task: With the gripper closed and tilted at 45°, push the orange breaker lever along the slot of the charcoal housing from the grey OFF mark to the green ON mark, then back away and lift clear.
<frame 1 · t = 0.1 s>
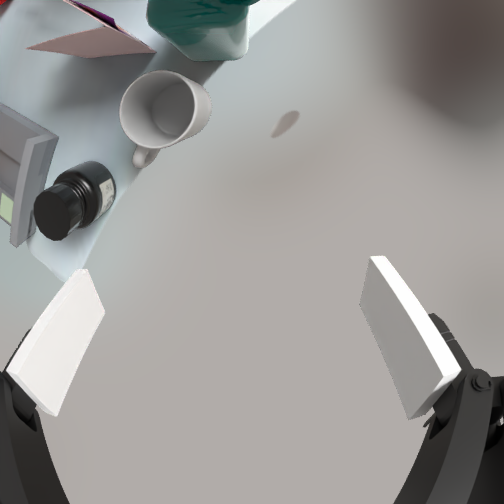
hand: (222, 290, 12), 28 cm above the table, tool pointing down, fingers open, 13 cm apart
mug: (175, 119, 33), on the table
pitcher: (221, 34, 27), on the table
breaker housing: (7, 162, 32), on the table
ink bottle: (94, 187, 37), on the table
greeting card: (118, 49, 27), on the table
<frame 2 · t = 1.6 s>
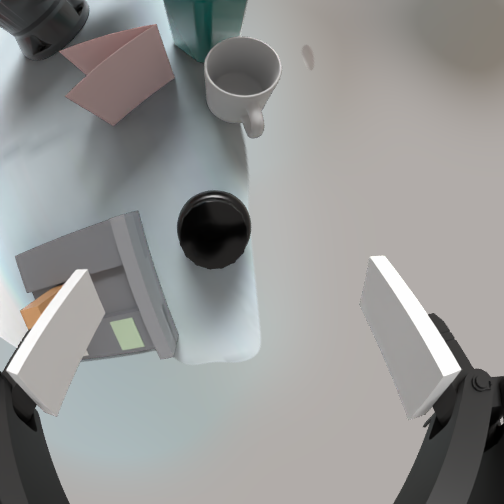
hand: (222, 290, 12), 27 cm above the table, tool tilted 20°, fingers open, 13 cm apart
mug: (239, 107, 35), on the table
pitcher: (209, 37, 31), on the table
breaker housing: (91, 293, 37), on the table
ink bottle: (214, 222, 38), on the table
greeting card: (137, 100, 32), on the table
breaker lever: (54, 314, 30), point 7 cm above the table, slide at 0.0 cm
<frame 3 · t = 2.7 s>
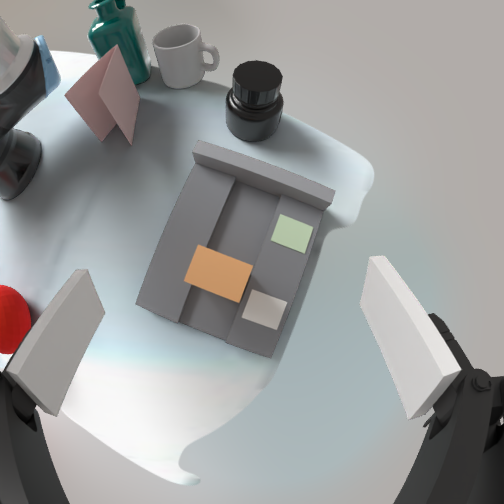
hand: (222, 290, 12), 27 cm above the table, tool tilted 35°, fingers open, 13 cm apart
mug: (191, 76, 44), on the table
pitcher: (132, 73, 44), on the table
breaker housing: (233, 252, 40), on the table
ink bottle: (252, 122, 43), on the table
tomato: (23, 318, 36), on the table
greeting card: (131, 124, 42), on the table
breaker lever: (220, 276, 32), point 7 cm above the table, slide at 0.0 cm
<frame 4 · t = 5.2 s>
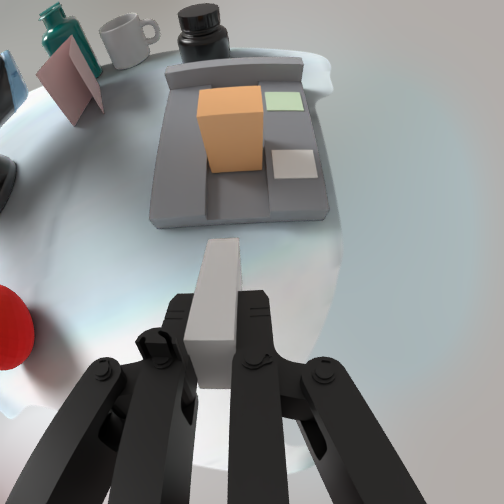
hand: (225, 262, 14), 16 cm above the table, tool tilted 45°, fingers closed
mug: (139, 57, 43), on the table
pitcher: (85, 77, 43), on the table
breaker housing: (236, 142, 35), on the table
ink bottle: (206, 61, 41), on the table
tomato: (26, 331, 28), on the table
greeting card: (98, 103, 39), on the table
breaker lever: (233, 132, 27), point 7 cm above the table, slide at 0.0 cm
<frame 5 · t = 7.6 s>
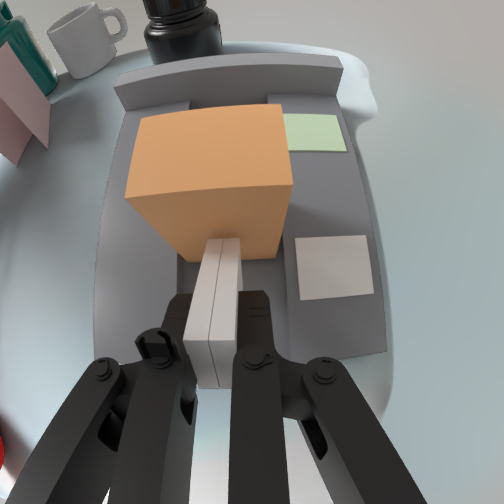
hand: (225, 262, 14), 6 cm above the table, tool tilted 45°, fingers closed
mug: (103, 60, 30), on the table
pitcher: (40, 91, 30), on the table
breaker housing: (231, 206, 22), on the table
ink bottle: (189, 61, 28), on the table
greeting card: (44, 131, 26), on the table
breaker lever: (221, 201, 14), point 7 cm above the table, slide at 1.1 cm, touching gripper
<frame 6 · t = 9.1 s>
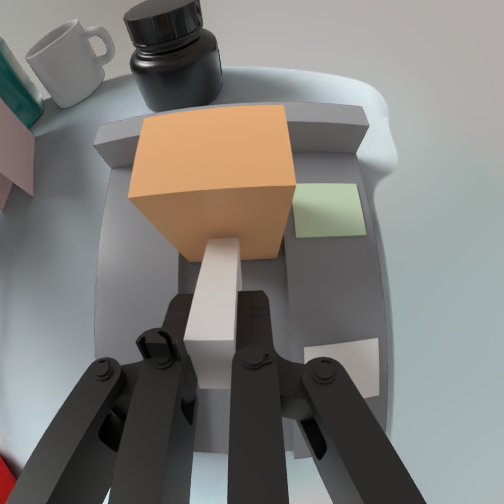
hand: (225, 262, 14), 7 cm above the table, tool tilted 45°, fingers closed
mug: (90, 85, 28), on the table
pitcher: (25, 118, 28), on the table
breaker housing: (235, 293, 20), on the table
ink bottle: (184, 92, 26), on the table
tomato: (8, 471, 13), on the table
greeting card: (29, 171, 24), on the table
breaker lever: (223, 201, 14), point 7 cm above the table, slide at 8.0 cm, touching gripper
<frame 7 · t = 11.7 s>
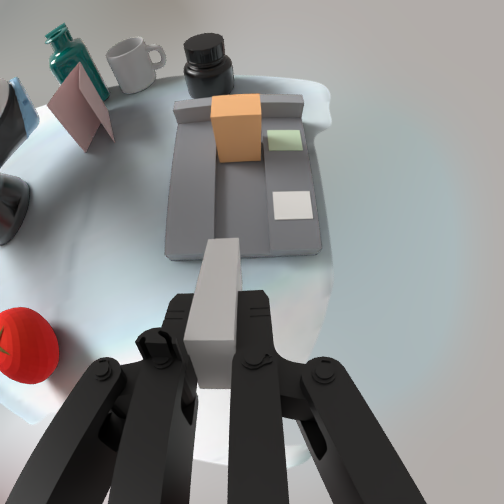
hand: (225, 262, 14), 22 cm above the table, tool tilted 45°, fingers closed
mug: (146, 80, 48), on the table
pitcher: (93, 98, 48), on the table
breaker housing: (241, 179, 40), on the table
ink bottle: (211, 89, 46), on the table
tomato: (49, 347, 33), on the table
greeting card: (107, 129, 44), on the table
breaker lever: (238, 129, 34), point 7 cm above the table, slide at 8.1 cm
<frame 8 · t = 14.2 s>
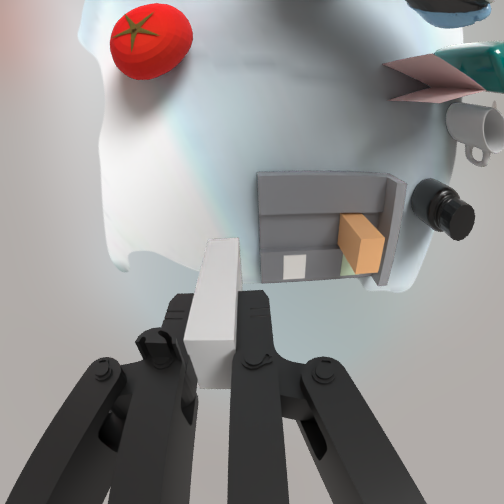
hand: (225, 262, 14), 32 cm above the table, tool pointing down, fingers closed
mug: (458, 130, 38), on the table
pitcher: (452, 66, 31), on the table
breaker housing: (325, 224, 48), on the table
ink bottle: (426, 198, 46), on the table
tomato: (163, 49, 32), on the table
greeting card: (406, 89, 35), on the table
breaker lever: (358, 241, 42), point 7 cm above the table, slide at 8.1 cm
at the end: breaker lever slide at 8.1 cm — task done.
